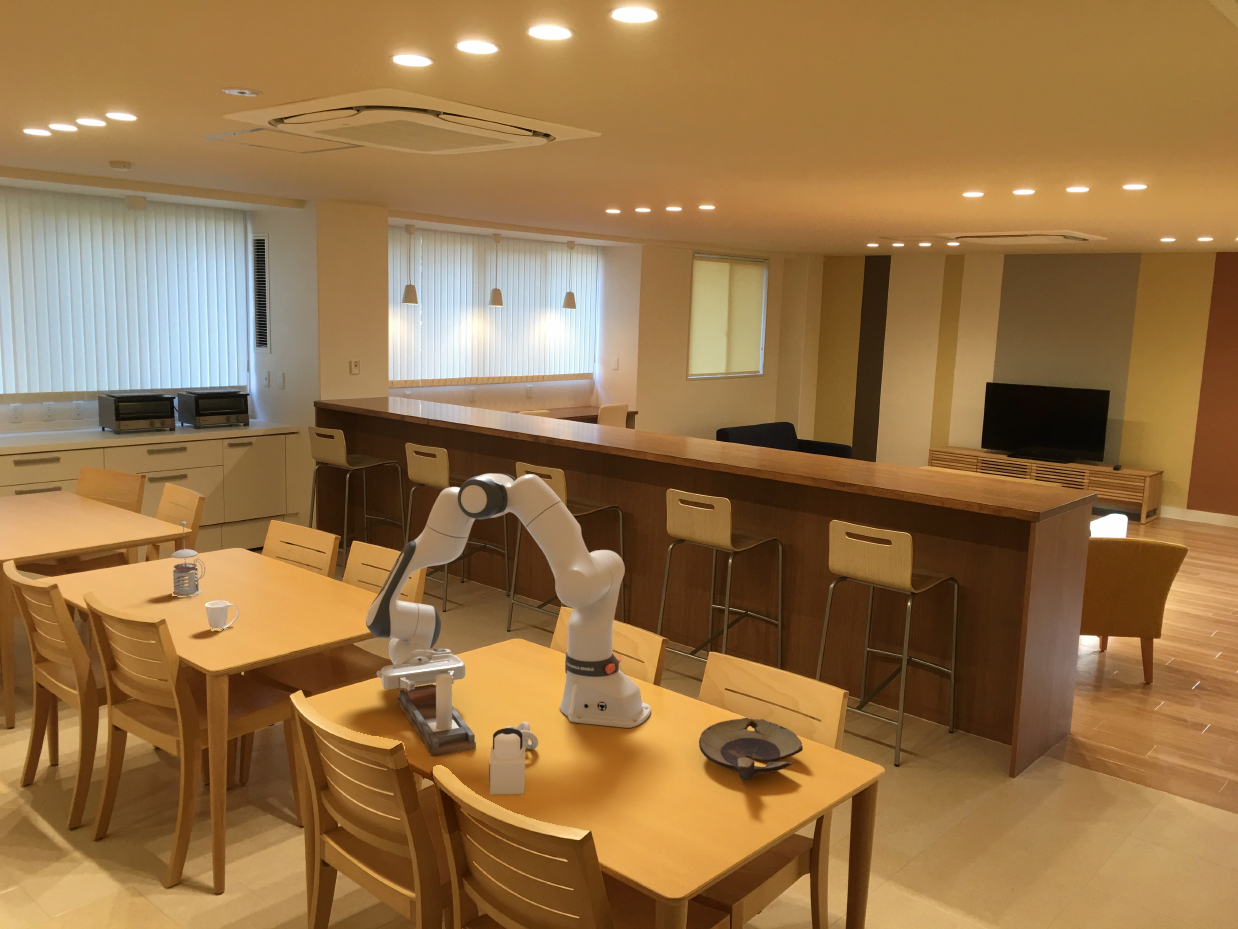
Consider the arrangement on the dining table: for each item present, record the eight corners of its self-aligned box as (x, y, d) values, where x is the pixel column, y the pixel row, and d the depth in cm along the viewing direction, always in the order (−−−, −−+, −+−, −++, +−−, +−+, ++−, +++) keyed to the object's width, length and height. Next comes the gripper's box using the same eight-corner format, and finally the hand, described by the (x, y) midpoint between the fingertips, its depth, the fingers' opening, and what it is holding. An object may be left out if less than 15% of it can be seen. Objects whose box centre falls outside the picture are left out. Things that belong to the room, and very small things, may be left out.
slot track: (475, 749, 217) (475, 730, 216) (432, 756, 212) (431, 737, 212) (437, 697, 245) (437, 680, 244) (397, 703, 241) (397, 686, 240)
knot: (543, 746, 219) (544, 721, 218) (531, 761, 212) (531, 736, 211) (512, 741, 221) (513, 717, 220) (499, 756, 214) (499, 731, 213)
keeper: (460, 734, 220) (460, 679, 218) (434, 739, 217) (434, 683, 215) (453, 724, 225) (453, 670, 223) (427, 728, 223) (427, 673, 221)
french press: (181, 588, 334) (178, 517, 330) (212, 590, 332) (210, 519, 329) (164, 596, 324) (161, 523, 321) (196, 598, 323) (193, 525, 319)
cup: (201, 629, 292) (200, 603, 291) (233, 622, 300) (232, 597, 298) (211, 634, 288) (210, 608, 287) (244, 627, 295) (243, 601, 294)
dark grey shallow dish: (817, 755, 218) (819, 723, 217) (760, 809, 193) (762, 773, 192) (728, 730, 230) (730, 699, 229) (664, 778, 205) (665, 744, 204)
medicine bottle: (490, 779, 203) (491, 724, 201) (524, 778, 204) (525, 724, 202) (489, 795, 196) (489, 739, 194) (524, 795, 197) (525, 739, 195)
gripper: (374, 658, 237) (387, 678, 225) (455, 648, 246) (472, 666, 234) (375, 683, 238) (387, 703, 226) (455, 671, 247) (472, 690, 235)
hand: (431, 684), depth 230 cm, fingers open, 8 cm apart
